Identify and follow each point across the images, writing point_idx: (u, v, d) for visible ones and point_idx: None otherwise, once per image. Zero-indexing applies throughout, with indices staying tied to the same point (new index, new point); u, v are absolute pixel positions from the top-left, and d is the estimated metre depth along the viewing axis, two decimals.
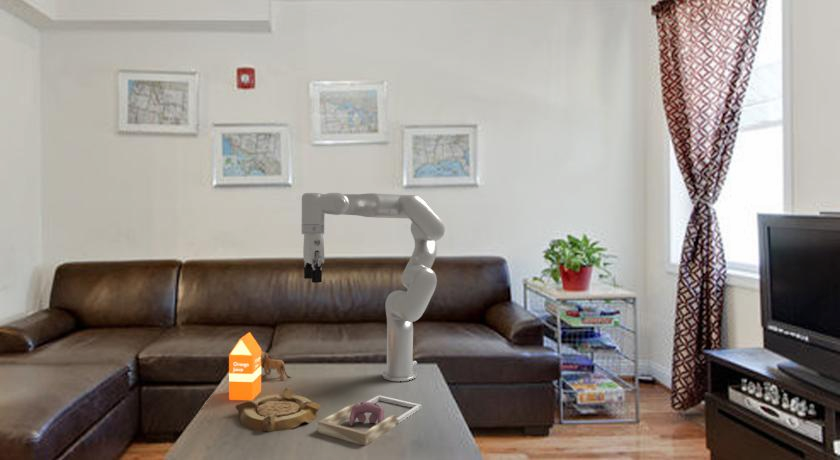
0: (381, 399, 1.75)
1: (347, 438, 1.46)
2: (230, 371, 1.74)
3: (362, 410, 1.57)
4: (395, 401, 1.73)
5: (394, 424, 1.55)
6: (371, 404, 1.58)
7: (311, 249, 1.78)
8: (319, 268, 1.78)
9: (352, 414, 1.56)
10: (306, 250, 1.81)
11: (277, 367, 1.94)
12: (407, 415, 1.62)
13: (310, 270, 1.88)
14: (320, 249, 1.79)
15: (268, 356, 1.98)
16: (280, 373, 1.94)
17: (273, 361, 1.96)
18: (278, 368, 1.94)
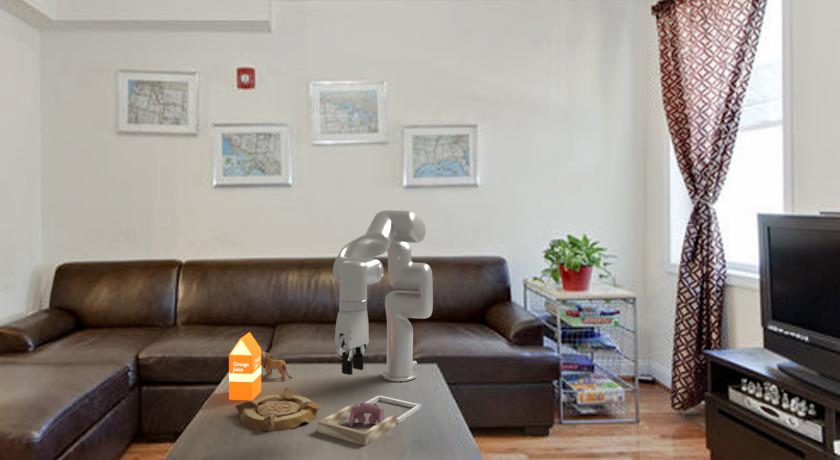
0: (381, 399, 1.75)
1: (347, 438, 1.46)
2: (230, 371, 1.74)
3: (362, 411, 1.57)
4: (395, 401, 1.73)
5: (394, 424, 1.55)
6: (371, 405, 1.57)
7: None
8: None
9: (352, 415, 1.56)
10: (362, 331, 1.49)
11: (279, 367, 1.94)
12: (407, 415, 1.62)
13: None
14: None
15: (269, 356, 1.98)
16: (282, 373, 1.93)
17: (274, 361, 1.96)
18: (280, 368, 1.94)
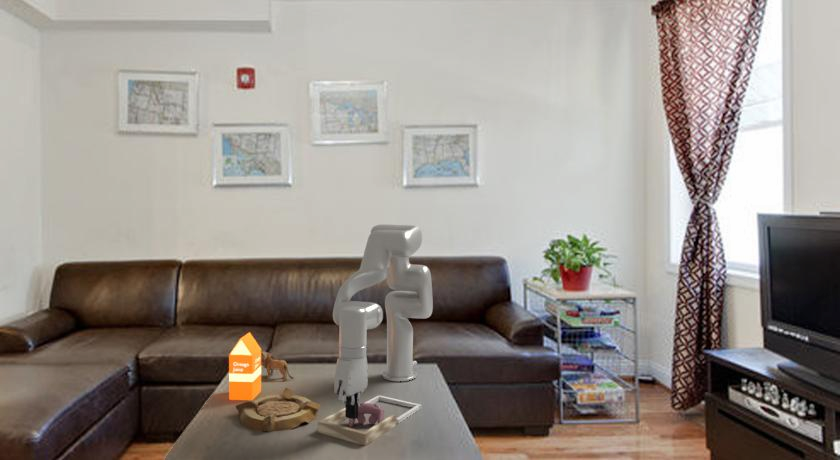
0: (381, 399, 1.75)
1: (347, 438, 1.46)
2: (230, 371, 1.74)
3: (362, 411, 1.56)
4: (395, 401, 1.73)
5: (394, 424, 1.55)
6: (371, 405, 1.57)
7: None
8: None
9: None
10: (361, 376, 1.50)
11: (280, 367, 1.94)
12: (407, 415, 1.62)
13: None
14: None
15: (271, 356, 1.98)
16: (283, 373, 1.93)
17: (276, 361, 1.96)
18: (281, 368, 1.93)
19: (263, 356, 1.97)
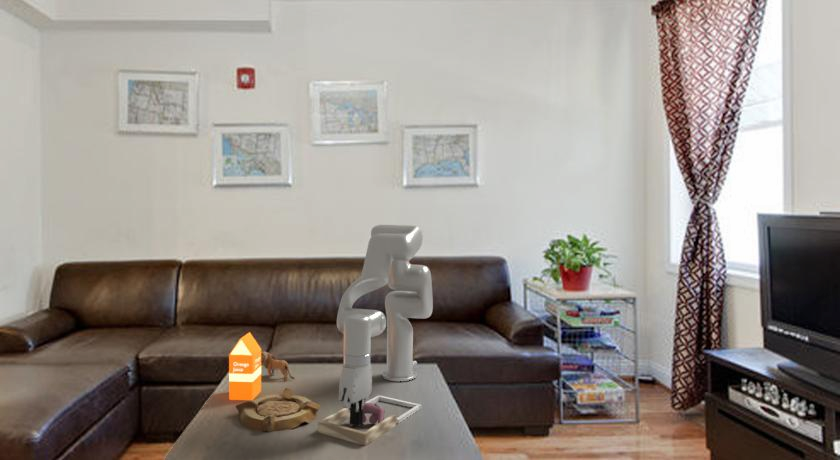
0: (381, 399, 1.75)
1: (347, 438, 1.46)
2: (230, 371, 1.74)
3: None
4: (395, 401, 1.73)
5: (394, 424, 1.55)
6: (371, 405, 1.57)
7: None
8: None
9: None
10: (365, 383, 1.52)
11: (281, 368, 1.93)
12: (407, 415, 1.62)
13: None
14: None
15: (272, 357, 1.97)
16: (284, 374, 1.93)
17: (277, 362, 1.96)
18: (282, 369, 1.93)
19: (264, 356, 1.97)
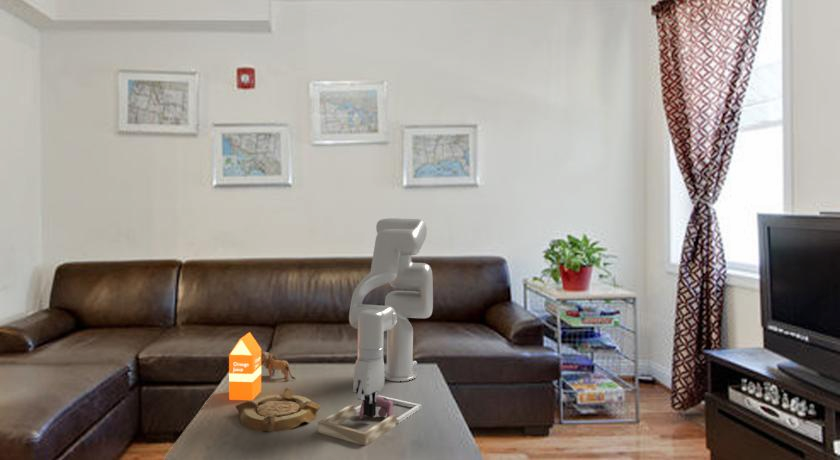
0: None
1: (347, 438, 1.46)
2: (230, 371, 1.74)
3: None
4: (395, 401, 1.73)
5: (394, 424, 1.55)
6: (380, 398, 1.62)
7: None
8: None
9: (362, 408, 1.61)
10: (378, 376, 1.57)
11: (282, 368, 1.93)
12: (407, 415, 1.62)
13: None
14: None
15: (272, 357, 1.97)
16: (285, 374, 1.93)
17: (277, 362, 1.95)
18: (283, 369, 1.93)
19: (265, 356, 1.96)
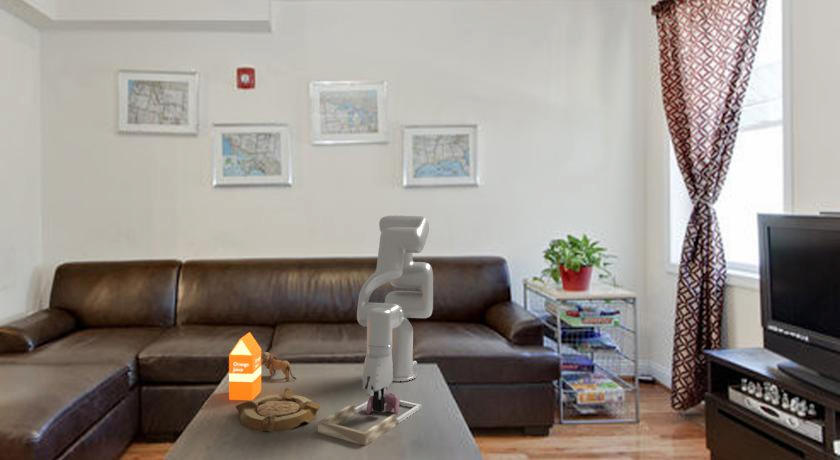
0: None
1: (347, 438, 1.46)
2: (230, 371, 1.74)
3: None
4: None
5: (394, 424, 1.55)
6: (387, 394, 1.66)
7: None
8: None
9: (369, 403, 1.65)
10: (387, 373, 1.61)
11: (283, 368, 1.93)
12: (407, 415, 1.62)
13: None
14: None
15: (273, 357, 1.97)
16: (286, 374, 1.93)
17: (278, 362, 1.95)
18: (284, 369, 1.93)
19: (266, 356, 1.96)
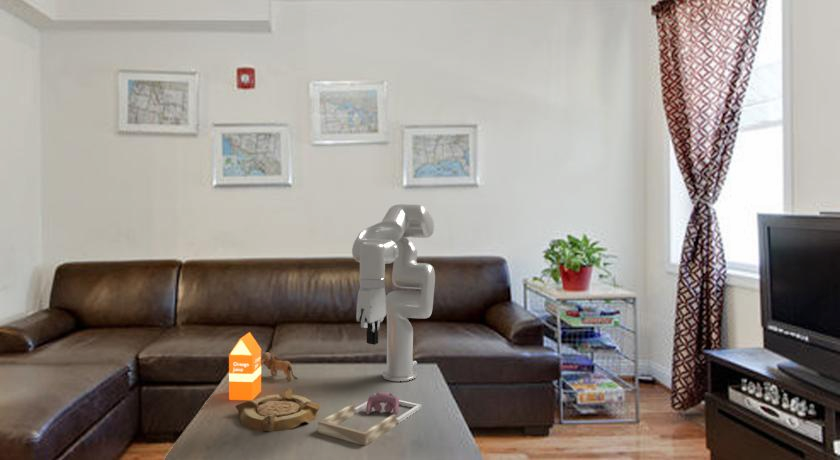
0: None
1: (347, 438, 1.46)
2: (230, 371, 1.74)
3: (378, 400, 1.66)
4: None
5: (394, 424, 1.55)
6: (386, 394, 1.66)
7: None
8: None
9: (369, 404, 1.65)
10: (380, 306, 1.64)
11: (284, 368, 1.93)
12: (407, 415, 1.62)
13: None
14: None
15: (274, 357, 1.97)
16: (287, 374, 1.92)
17: (280, 362, 1.95)
18: (285, 369, 1.93)
19: (267, 357, 1.96)
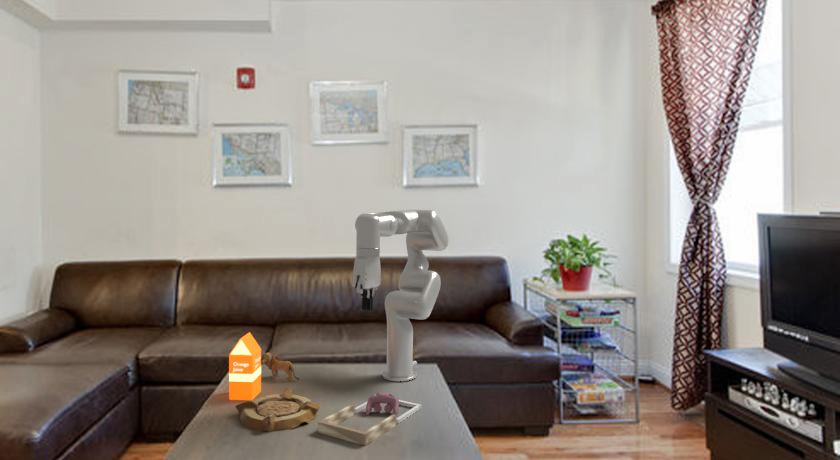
0: None
1: (347, 438, 1.46)
2: (230, 371, 1.74)
3: (378, 400, 1.65)
4: None
5: (394, 424, 1.55)
6: (386, 395, 1.65)
7: None
8: None
9: (368, 404, 1.64)
10: (375, 274, 1.76)
11: (285, 368, 1.93)
12: (407, 415, 1.62)
13: None
14: None
15: (275, 357, 1.96)
16: (288, 374, 1.92)
17: (281, 362, 1.95)
18: (286, 369, 1.93)
19: (268, 357, 1.96)
